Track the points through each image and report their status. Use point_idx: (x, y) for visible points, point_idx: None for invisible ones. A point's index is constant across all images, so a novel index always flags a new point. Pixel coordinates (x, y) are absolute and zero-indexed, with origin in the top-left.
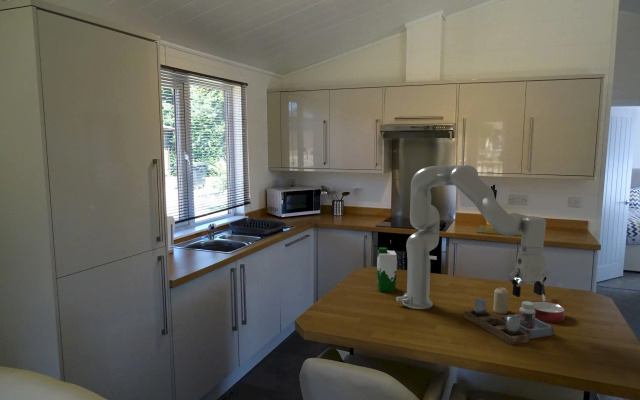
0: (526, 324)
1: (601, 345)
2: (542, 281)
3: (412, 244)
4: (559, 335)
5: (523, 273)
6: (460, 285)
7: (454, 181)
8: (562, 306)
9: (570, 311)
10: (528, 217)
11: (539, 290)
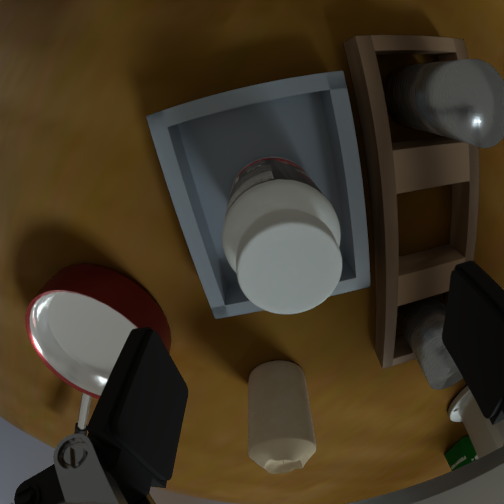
0: (299, 169)
1: (21, 33)
2: (70, 478)
3: None
4: (128, 112)
5: None
6: (283, 486)
7: None
8: (31, 343)
9: (22, 343)
10: None
11: (140, 372)
